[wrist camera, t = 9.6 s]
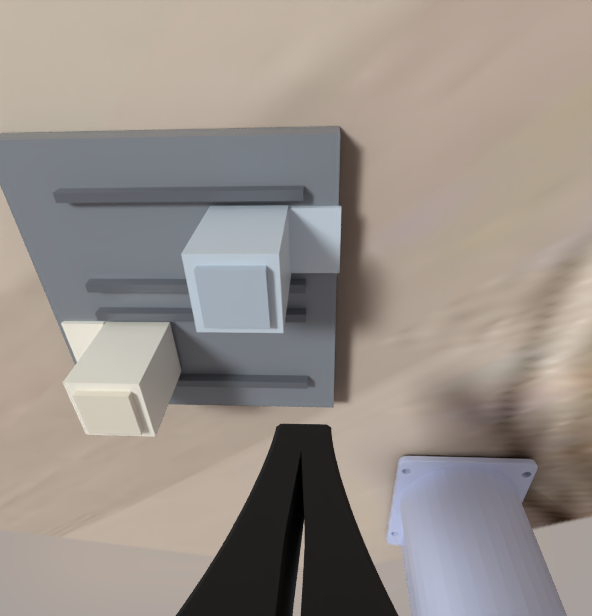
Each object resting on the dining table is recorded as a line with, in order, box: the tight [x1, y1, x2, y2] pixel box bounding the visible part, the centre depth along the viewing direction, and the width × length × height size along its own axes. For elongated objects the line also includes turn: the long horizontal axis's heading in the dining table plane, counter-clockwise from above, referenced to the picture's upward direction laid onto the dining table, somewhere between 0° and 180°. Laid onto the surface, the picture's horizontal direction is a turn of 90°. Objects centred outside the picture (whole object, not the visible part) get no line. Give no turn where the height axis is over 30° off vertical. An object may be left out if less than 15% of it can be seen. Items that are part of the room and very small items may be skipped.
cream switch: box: [63, 322, 181, 436], centre depth 19 cm, size 3×3×4 cm
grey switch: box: [181, 205, 291, 333], centre depth 16 cm, size 3×3×4 cm
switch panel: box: [0, 126, 341, 407], centre depth 19 cm, size 14×13×2 cm
